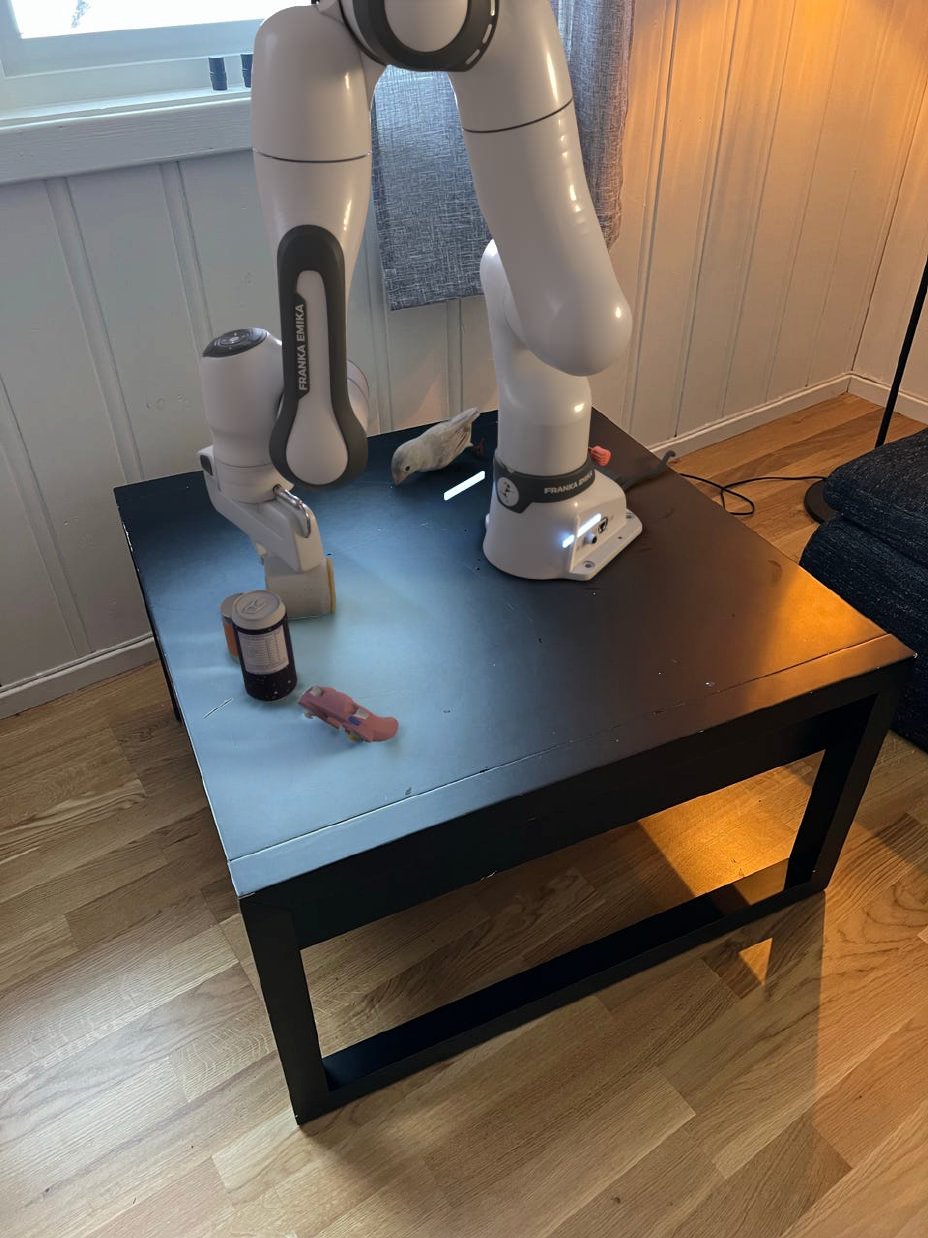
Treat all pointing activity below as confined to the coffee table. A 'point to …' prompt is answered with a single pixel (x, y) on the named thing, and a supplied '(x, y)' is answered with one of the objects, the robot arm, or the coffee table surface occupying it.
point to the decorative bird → (435, 446)
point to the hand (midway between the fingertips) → (272, 567)
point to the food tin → (229, 626)
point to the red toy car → (347, 715)
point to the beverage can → (264, 645)
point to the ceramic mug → (302, 587)
